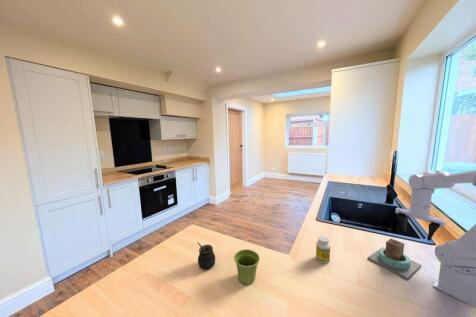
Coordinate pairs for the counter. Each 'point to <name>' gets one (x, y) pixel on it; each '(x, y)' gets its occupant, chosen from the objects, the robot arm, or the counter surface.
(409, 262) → the collar
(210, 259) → the mate gourd
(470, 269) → the robot arm
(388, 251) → the walnut peg
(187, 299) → the counter surface
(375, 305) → the counter surface
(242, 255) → the plant pot
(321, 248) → the supplement bottle
